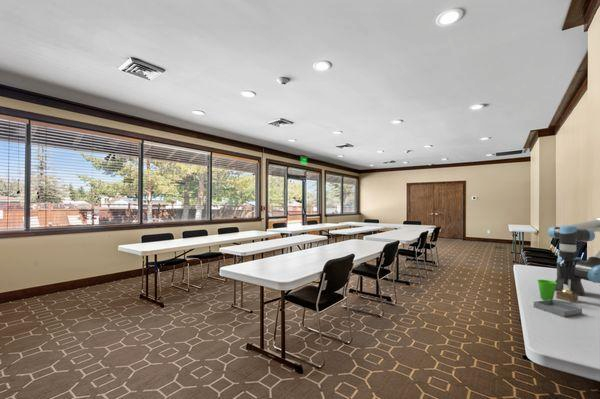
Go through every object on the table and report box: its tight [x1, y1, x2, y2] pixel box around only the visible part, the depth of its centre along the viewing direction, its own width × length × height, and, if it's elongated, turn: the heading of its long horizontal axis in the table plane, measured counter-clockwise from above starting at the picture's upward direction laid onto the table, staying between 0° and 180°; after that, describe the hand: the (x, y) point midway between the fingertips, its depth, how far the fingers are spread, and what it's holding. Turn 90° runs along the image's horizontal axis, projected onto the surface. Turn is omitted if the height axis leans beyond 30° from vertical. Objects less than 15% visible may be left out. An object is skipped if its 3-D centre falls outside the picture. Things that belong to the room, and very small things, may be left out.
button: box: [562, 289, 572, 295], centre depth 171 cm, size 4×4×3 cm
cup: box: [537, 279, 557, 301], centre depth 170 cm, size 9×9×11 cm
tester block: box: [555, 291, 579, 303], centre depth 171 cm, size 7×7×4 cm
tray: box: [533, 299, 583, 318], centre depth 152 cm, size 14×14×3 cm
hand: (566, 289), depth 171 cm, fingers closed
